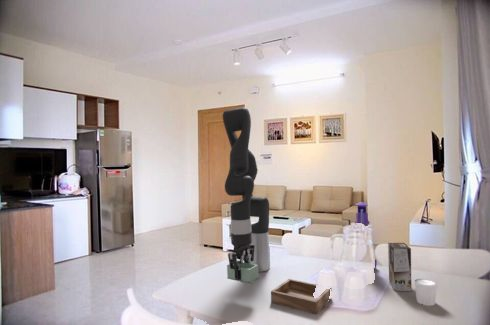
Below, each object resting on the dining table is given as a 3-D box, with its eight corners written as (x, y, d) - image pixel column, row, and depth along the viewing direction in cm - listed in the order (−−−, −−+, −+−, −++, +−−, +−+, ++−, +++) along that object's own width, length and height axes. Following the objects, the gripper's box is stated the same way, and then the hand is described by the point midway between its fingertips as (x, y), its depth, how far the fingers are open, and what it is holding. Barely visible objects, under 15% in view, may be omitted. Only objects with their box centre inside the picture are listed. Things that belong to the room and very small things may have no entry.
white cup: (410, 298, 118) (410, 278, 118) (429, 297, 119) (428, 277, 119) (422, 307, 111) (422, 286, 111) (442, 305, 112) (441, 285, 112)
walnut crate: (289, 289, 129) (289, 278, 129) (331, 298, 120) (331, 287, 120) (271, 302, 118) (270, 291, 118) (316, 314, 108) (316, 302, 108)
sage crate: (236, 273, 127) (235, 260, 126) (258, 278, 121) (257, 265, 121) (227, 278, 122) (227, 265, 122) (250, 283, 116) (249, 269, 116)
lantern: (350, 262, 160) (348, 199, 159) (376, 264, 156) (374, 200, 155) (349, 271, 147) (347, 203, 147) (377, 273, 143) (376, 204, 143)
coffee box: (412, 291, 124) (411, 248, 124) (393, 290, 125) (393, 248, 125) (405, 282, 133) (404, 242, 132) (388, 281, 134) (387, 241, 134)
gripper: (243, 225, 129) (245, 269, 130) (220, 234, 117) (222, 281, 118) (260, 227, 125) (261, 272, 125) (238, 236, 113) (240, 285, 113)
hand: (242, 276), depth 121 cm, fingers closed on sage crate, 5 cm apart
